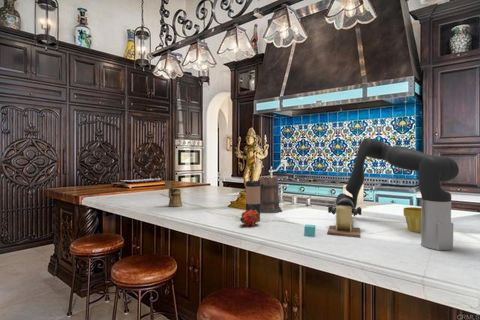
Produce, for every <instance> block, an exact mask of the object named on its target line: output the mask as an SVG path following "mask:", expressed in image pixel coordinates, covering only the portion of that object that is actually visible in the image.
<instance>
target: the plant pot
mask: <svg viewBox="0 0 480 320" xmlns="http://www.w3.org/2000/svg"><path fill="white" fill-rule="evenodd" d="M403 216H404V217H405V220H406V221H405V222H406V225H407V230H408V231H410V232H414V233H421V207H416V206H415V207H413V206H408V207H406V206H405V207H403Z"/></svg>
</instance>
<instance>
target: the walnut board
mask: <svg viewBox="0 0 480 320" xmlns="http://www.w3.org/2000/svg"><path fill="white" fill-rule="evenodd" d="M326 234H327V235H328V236H341V237H350V238H351V237H352V238H361V228H360V227H353V226H352V231H351V232H350V229H342V228H338V230H337V231H336V225H329V226H328V229H327V232H326Z"/></svg>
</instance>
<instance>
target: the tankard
mask: <svg viewBox="0 0 480 320" xmlns="http://www.w3.org/2000/svg"><path fill="white" fill-rule="evenodd" d="M259 181H260V214H279V212H280V213H283V210H282V208H281V206H280V199H279V183H278V178H277V177H265V176H264V177H263V176H262V177H261V176H260V177H259Z"/></svg>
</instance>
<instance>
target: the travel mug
mask: <svg viewBox="0 0 480 320" xmlns="http://www.w3.org/2000/svg"><path fill="white" fill-rule="evenodd" d="M250 209H252V210H253V211H254V210H257V212H258V213H259V216H260V218H259V220H261V213H260V180H247V181H245V211H246V210H248V211H250Z"/></svg>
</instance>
